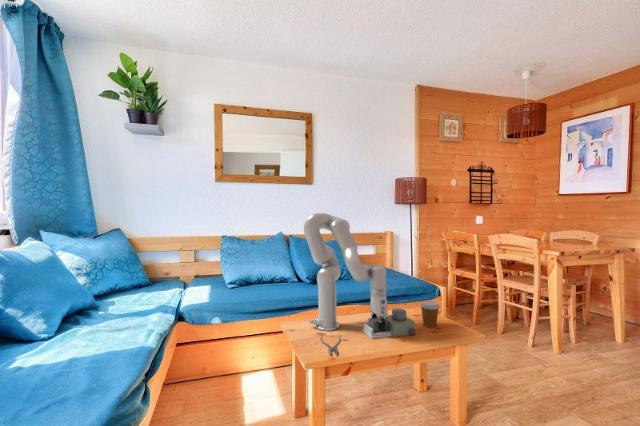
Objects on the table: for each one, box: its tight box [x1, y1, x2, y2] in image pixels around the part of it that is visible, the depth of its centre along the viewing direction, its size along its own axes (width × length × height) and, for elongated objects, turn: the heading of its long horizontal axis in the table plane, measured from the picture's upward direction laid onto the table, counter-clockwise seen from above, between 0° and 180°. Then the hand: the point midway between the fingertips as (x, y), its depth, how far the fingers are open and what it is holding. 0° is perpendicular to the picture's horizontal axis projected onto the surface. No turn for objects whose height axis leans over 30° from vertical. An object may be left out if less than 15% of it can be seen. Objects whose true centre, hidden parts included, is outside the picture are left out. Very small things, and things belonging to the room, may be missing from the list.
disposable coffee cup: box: [420, 300, 440, 329], centre depth 158 cm, size 10×10×12 cm
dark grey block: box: [368, 316, 388, 333], centre depth 148 cm, size 8×5×6 cm, turn 107°
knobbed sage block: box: [362, 308, 416, 340], centre depth 149 cm, size 23×14×10 cm, turn 107°
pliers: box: [320, 336, 341, 357], centre depth 135 cm, size 10×1×20 cm
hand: (378, 326), depth 148 cm, fingers open, 7 cm apart
